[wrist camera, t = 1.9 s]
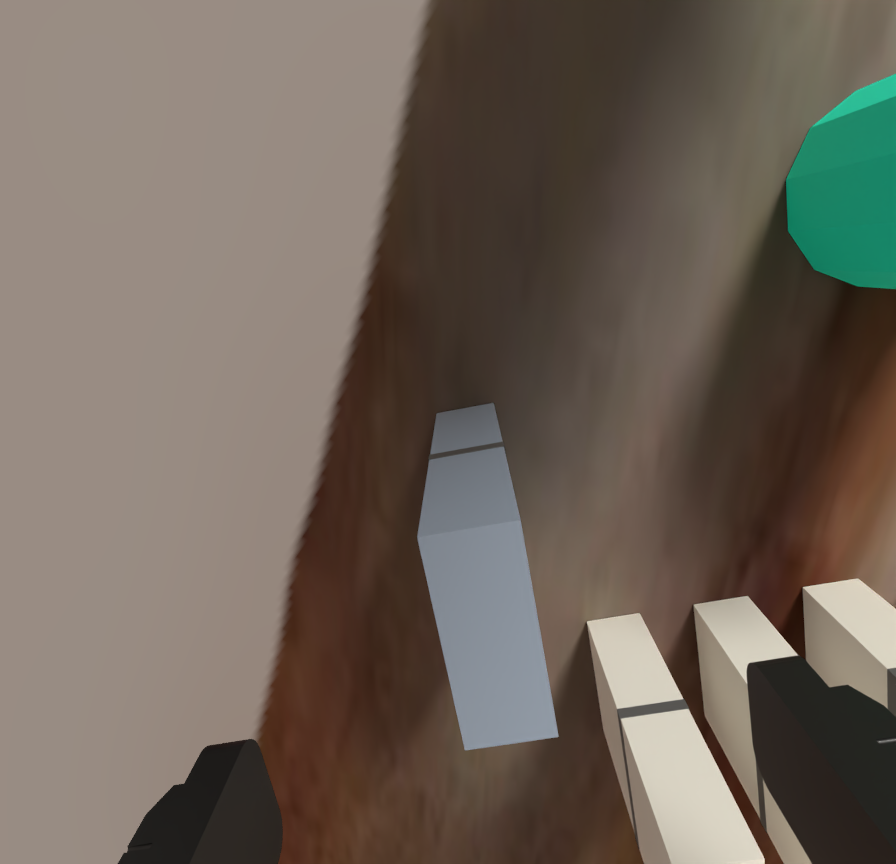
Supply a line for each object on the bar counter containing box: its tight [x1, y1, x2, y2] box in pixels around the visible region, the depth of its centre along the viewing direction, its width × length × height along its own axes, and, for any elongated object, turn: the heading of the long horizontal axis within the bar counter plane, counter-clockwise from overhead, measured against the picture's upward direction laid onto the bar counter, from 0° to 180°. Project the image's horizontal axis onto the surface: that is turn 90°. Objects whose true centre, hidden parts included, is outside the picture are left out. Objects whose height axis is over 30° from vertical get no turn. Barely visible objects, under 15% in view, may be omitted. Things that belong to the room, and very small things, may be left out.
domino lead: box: [417, 403, 559, 750], centre depth 17 cm, size 5×2×10 cm, turn 11°
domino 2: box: [587, 613, 765, 864], centre depth 19 cm, size 5×2×10 cm, turn 11°
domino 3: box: [693, 596, 812, 864], centre depth 19 cm, size 5×2×10 cm, turn 11°
